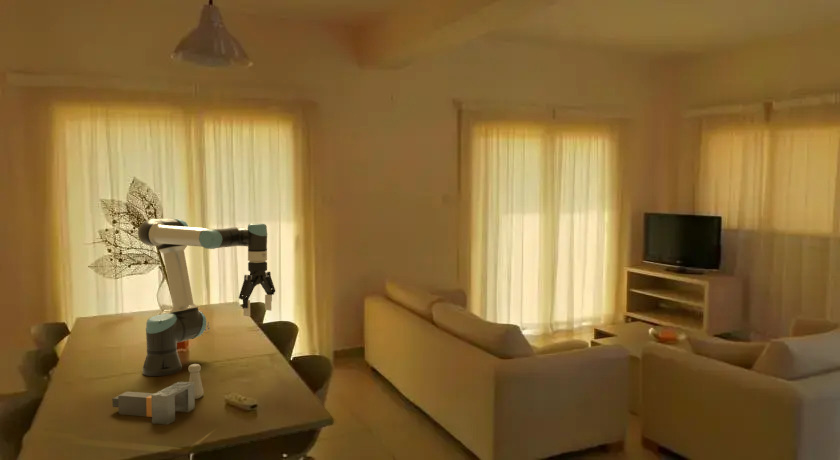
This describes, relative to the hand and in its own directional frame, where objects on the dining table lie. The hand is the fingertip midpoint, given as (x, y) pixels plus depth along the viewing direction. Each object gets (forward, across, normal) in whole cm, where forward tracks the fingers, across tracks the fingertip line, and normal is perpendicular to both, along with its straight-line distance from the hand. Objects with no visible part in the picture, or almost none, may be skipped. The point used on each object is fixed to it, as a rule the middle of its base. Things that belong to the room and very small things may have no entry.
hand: (257, 313), depth 246 cm
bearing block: (+27, -46, -1) cm, 54 cm away
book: (+29, +42, +66) cm, 83 cm away
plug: (+28, -49, +11) cm, 57 cm away
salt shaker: (+28, -30, +5) cm, 41 cm away
